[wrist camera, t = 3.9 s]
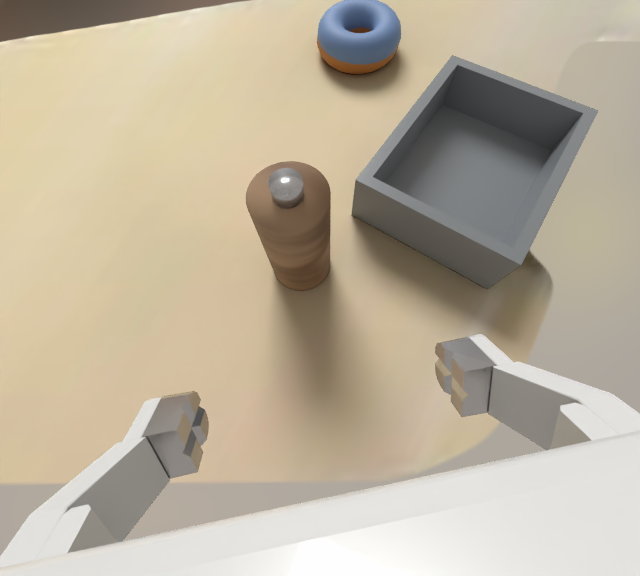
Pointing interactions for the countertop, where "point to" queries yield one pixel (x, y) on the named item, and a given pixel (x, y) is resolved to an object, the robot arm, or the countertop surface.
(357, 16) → the doughnut
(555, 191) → the bin
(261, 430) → the countertop surface
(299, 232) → the pepper mill
